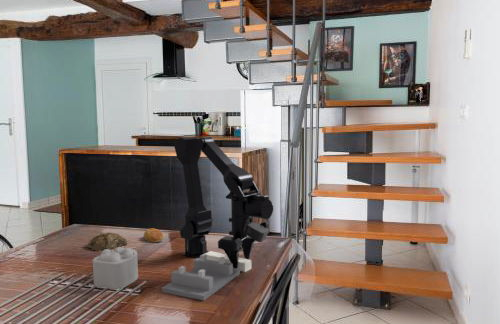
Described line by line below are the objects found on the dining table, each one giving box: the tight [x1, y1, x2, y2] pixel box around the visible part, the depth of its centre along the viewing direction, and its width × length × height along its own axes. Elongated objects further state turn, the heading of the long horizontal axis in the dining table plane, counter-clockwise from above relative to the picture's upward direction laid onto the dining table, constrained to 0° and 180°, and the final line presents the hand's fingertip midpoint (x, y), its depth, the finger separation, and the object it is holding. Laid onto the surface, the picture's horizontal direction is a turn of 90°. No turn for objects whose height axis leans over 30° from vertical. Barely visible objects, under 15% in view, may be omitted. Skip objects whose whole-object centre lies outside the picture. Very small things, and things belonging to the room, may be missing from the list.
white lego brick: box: [92, 247, 139, 290], centre depth 123 cm, size 10×13×9 cm
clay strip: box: [205, 250, 252, 273], centre depth 134 cm, size 16×3×3 cm, turn 56°
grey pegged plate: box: [161, 254, 241, 302], centre depth 121 cm, size 20×13×6 cm, turn 154°
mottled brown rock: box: [87, 232, 128, 252], centre depth 156 cm, size 13×12×5 cm
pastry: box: [143, 227, 164, 244], centre depth 163 cm, size 9×7×4 cm
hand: (241, 264), depth 132 cm, fingers open, 8 cm apart
